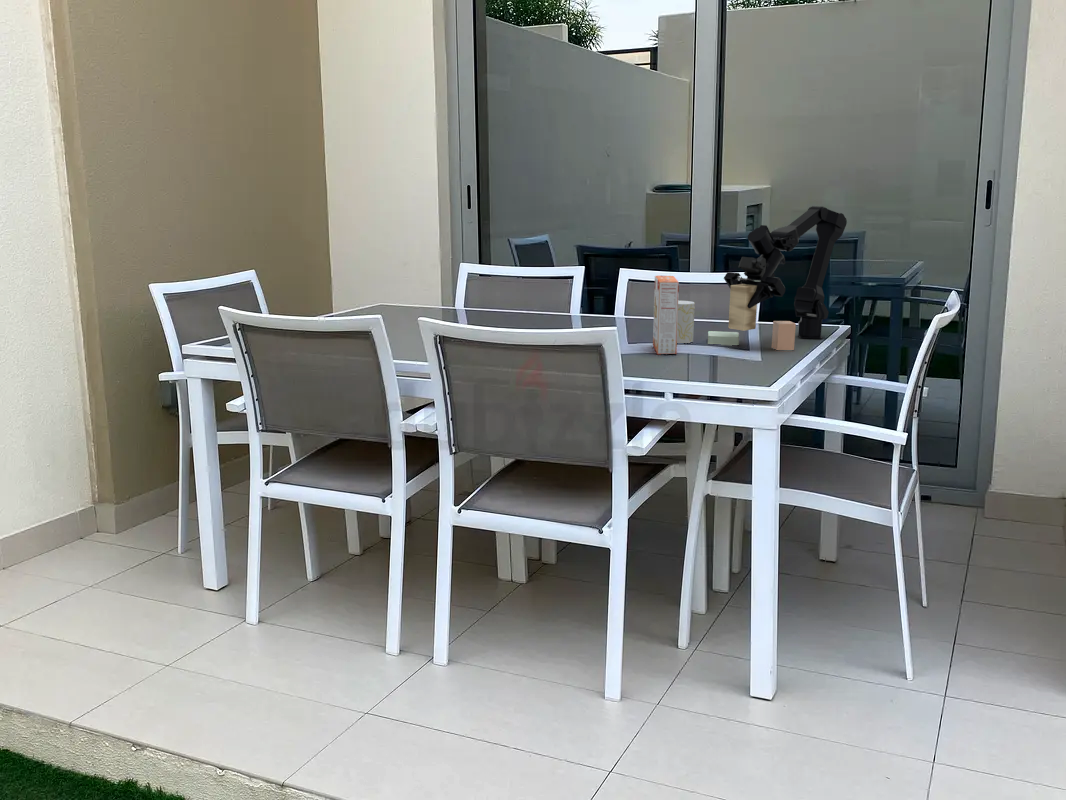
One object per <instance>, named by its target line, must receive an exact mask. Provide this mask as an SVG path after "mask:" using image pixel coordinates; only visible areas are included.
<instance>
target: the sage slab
mask: <svg viewBox="0 0 1066 800" xmlns="http://www.w3.org/2000/svg"><path fill="white" fill-rule="evenodd" d="M707 334H708V335H707V345H708V344H721V345H720V346H732V345H739V344H740V336H739V335H740V333H739V332H738V331H714V330H713V331H709V330H708V332H707ZM739 346H740V345H739Z"/></svg>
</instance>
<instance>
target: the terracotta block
mask: <svg viewBox="0 0 1066 800" xmlns="http://www.w3.org/2000/svg"><path fill="white" fill-rule="evenodd" d="M796 326H797V325H796V323H795V322H793V321H790V320H773V323H772V334H771V335H772V336H771V349H772V348H774V349H776V350H794V351H795V343H796V342H795V341H796V340H795V339H796ZM774 349H773V350H774ZM776 350H775V351H776Z"/></svg>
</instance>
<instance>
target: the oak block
mask: <svg viewBox="0 0 1066 800" xmlns="http://www.w3.org/2000/svg"><path fill="white" fill-rule="evenodd" d="M756 289H757V286H756V285H747V284H738V285H731V289H730V290H729V291H730V296H729V311H728V329H731V330H737V331H743V332H744V331H749V330H756V327H757V326H756V325H757V313H758V312H757V310H758V308H757V307H758V304H757V305H755V306H753V307H751V308H748V303H749V301H750V300H751V298H752V296H753V295H754V293H755V291H756Z"/></svg>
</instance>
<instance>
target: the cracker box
mask: <svg viewBox="0 0 1066 800" xmlns="http://www.w3.org/2000/svg"><path fill="white" fill-rule="evenodd" d="M653 291H654V293H653V294H654V296H653V297H654V298H653V324H652V325H653V327H652V328H653V330H652V331H653V332H652V346H653V348H654V351H655V353H656V355H660V356H662V355H661V354H676V355H677V353H678V351H677V349H678V348H677V347H678V344H677V324H678V301H679V296H680V295H679V293H680V282H679V280H678V279H677V278H676V277H675V275H674V276H673V275H655V276H654V290H653Z"/></svg>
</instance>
